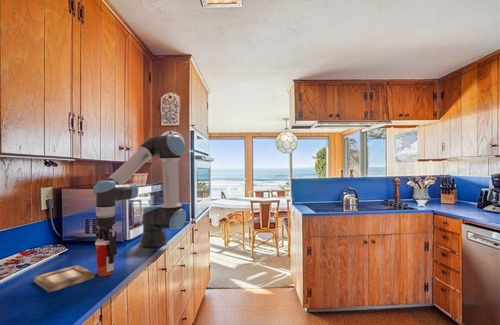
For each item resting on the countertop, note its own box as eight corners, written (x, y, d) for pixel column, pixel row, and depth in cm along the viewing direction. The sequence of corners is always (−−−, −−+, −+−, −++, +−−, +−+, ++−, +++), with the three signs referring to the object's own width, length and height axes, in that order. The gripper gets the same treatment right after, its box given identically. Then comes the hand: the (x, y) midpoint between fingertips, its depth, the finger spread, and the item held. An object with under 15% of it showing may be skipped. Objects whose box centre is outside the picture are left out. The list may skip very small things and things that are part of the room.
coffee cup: (108, 268, 123) (108, 235, 123) (120, 272, 119) (120, 237, 119) (90, 275, 116) (90, 240, 116) (102, 279, 112) (102, 242, 112)
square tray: (77, 269, 122) (77, 264, 122) (94, 278, 113) (94, 273, 113) (34, 281, 109) (34, 276, 109) (48, 292, 100) (48, 286, 100)
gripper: (86, 215, 121) (85, 266, 120) (108, 220, 109) (108, 277, 108) (103, 212, 127) (103, 261, 126) (126, 217, 115) (126, 271, 115)
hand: (105, 268), depth 117 cm, fingers closed on coffee cup, 7 cm apart
